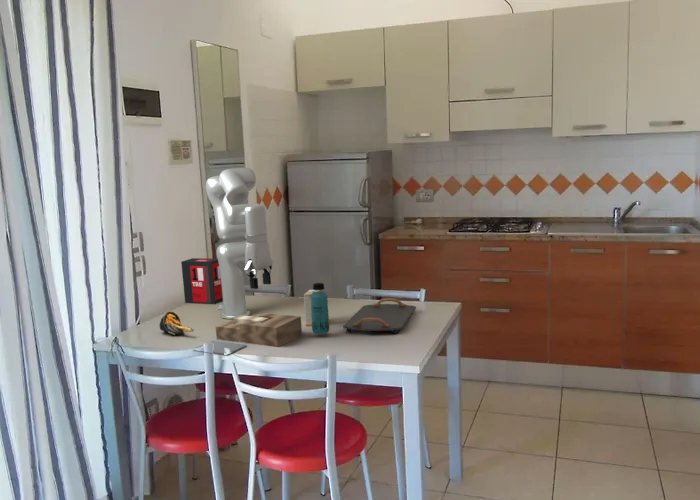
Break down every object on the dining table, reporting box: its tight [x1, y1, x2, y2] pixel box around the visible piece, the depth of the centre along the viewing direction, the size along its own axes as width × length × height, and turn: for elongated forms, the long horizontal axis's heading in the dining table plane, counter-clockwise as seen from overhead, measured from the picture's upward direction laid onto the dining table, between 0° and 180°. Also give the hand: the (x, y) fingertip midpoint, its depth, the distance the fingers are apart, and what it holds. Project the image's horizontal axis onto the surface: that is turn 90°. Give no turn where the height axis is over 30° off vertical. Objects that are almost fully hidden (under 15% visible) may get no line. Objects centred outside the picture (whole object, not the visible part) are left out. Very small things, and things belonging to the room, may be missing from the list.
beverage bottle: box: [311, 282, 330, 335], centre depth 243 cm, size 6×7×20 cm
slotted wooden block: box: [215, 312, 303, 348], centre depth 247 cm, size 28×16×7 cm, turn 61°
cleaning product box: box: [180, 257, 223, 305], centre depth 310 cm, size 16×9×20 cm, turn 69°
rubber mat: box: [195, 340, 248, 356], centre depth 235 cm, size 16×11×1 cm
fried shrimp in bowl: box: [159, 311, 194, 336], centre depth 257 cm, size 9×11×18 cm
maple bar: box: [234, 315, 269, 325], centre depth 248 cm, size 13×5×4 cm, turn 61°
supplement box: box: [303, 289, 321, 327], centre depth 261 cm, size 8×5×13 cm, turn 168°
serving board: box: [342, 297, 417, 335], centre depth 259 cm, size 39×23×6 cm, turn 164°
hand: (260, 285), depth 243 cm, fingers open, 7 cm apart
